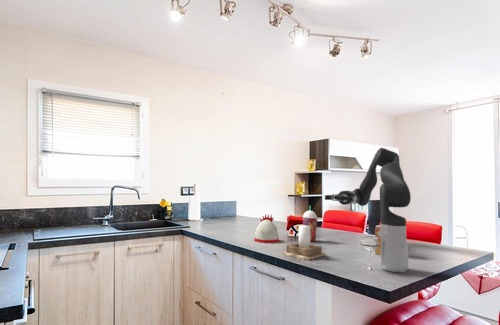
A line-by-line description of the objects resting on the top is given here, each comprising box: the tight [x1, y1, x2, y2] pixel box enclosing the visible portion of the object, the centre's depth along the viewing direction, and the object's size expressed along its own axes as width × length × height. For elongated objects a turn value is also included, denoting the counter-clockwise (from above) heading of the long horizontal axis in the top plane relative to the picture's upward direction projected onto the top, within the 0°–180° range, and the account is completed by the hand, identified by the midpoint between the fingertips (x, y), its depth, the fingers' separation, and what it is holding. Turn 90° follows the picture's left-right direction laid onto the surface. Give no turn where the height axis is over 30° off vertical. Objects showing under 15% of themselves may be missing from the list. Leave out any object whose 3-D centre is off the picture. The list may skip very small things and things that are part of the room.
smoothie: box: [302, 205, 318, 243], centre depth 177 cm, size 8×8×20 cm
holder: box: [282, 242, 327, 261], centre depth 142 cm, size 14×14×4 cm
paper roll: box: [298, 224, 311, 249], centre depth 142 cm, size 5×5×12 cm
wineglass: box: [360, 235, 379, 271], centre depth 122 cm, size 7×7×12 cm
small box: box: [374, 224, 381, 256], centre depth 148 cm, size 8×6×13 cm
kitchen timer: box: [253, 213, 280, 244], centre depth 176 cm, size 14×14×15 cm
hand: (333, 198), depth 157 cm, fingers open, 8 cm apart
